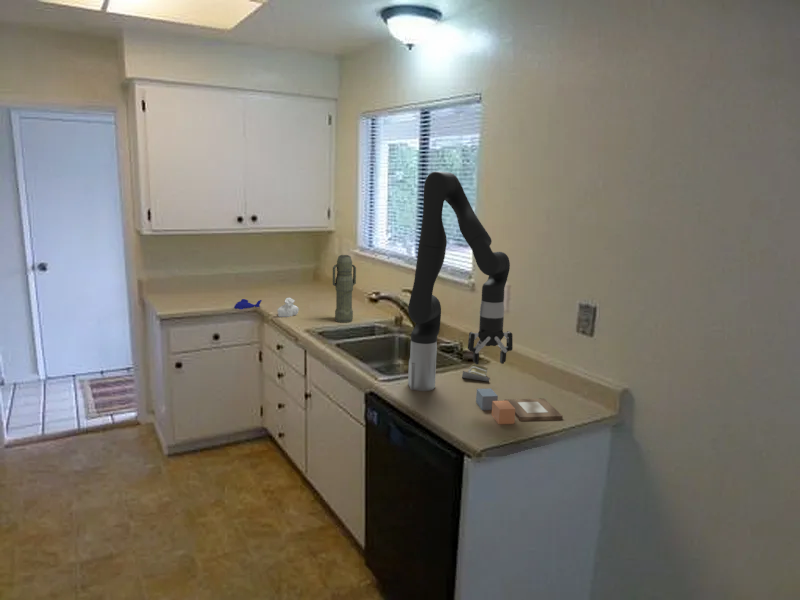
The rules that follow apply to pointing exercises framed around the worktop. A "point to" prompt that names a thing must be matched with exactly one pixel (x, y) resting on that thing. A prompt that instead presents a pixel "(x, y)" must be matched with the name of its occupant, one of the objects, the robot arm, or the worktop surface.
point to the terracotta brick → (503, 412)
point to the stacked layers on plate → (476, 373)
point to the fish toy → (246, 304)
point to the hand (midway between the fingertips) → (489, 363)
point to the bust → (288, 308)
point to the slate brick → (485, 398)
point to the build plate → (534, 409)
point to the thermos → (344, 288)
